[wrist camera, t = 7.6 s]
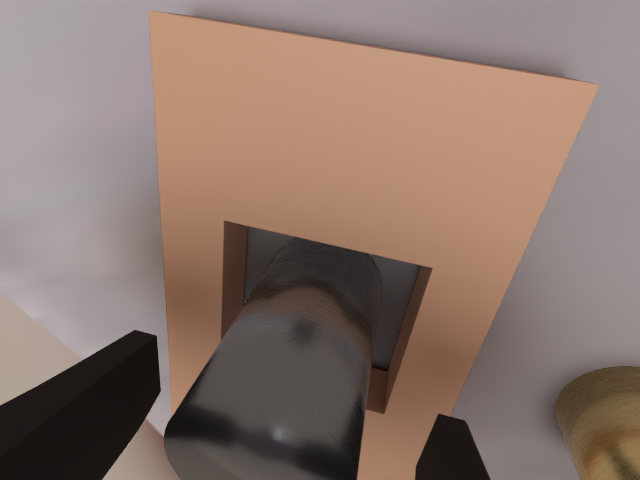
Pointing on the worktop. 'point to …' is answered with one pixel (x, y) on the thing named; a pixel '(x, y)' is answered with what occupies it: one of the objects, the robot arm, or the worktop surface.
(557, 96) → the hole board
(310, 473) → the long steel pin
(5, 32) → the worktop surface
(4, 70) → the worktop surface
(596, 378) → the short brass pin
